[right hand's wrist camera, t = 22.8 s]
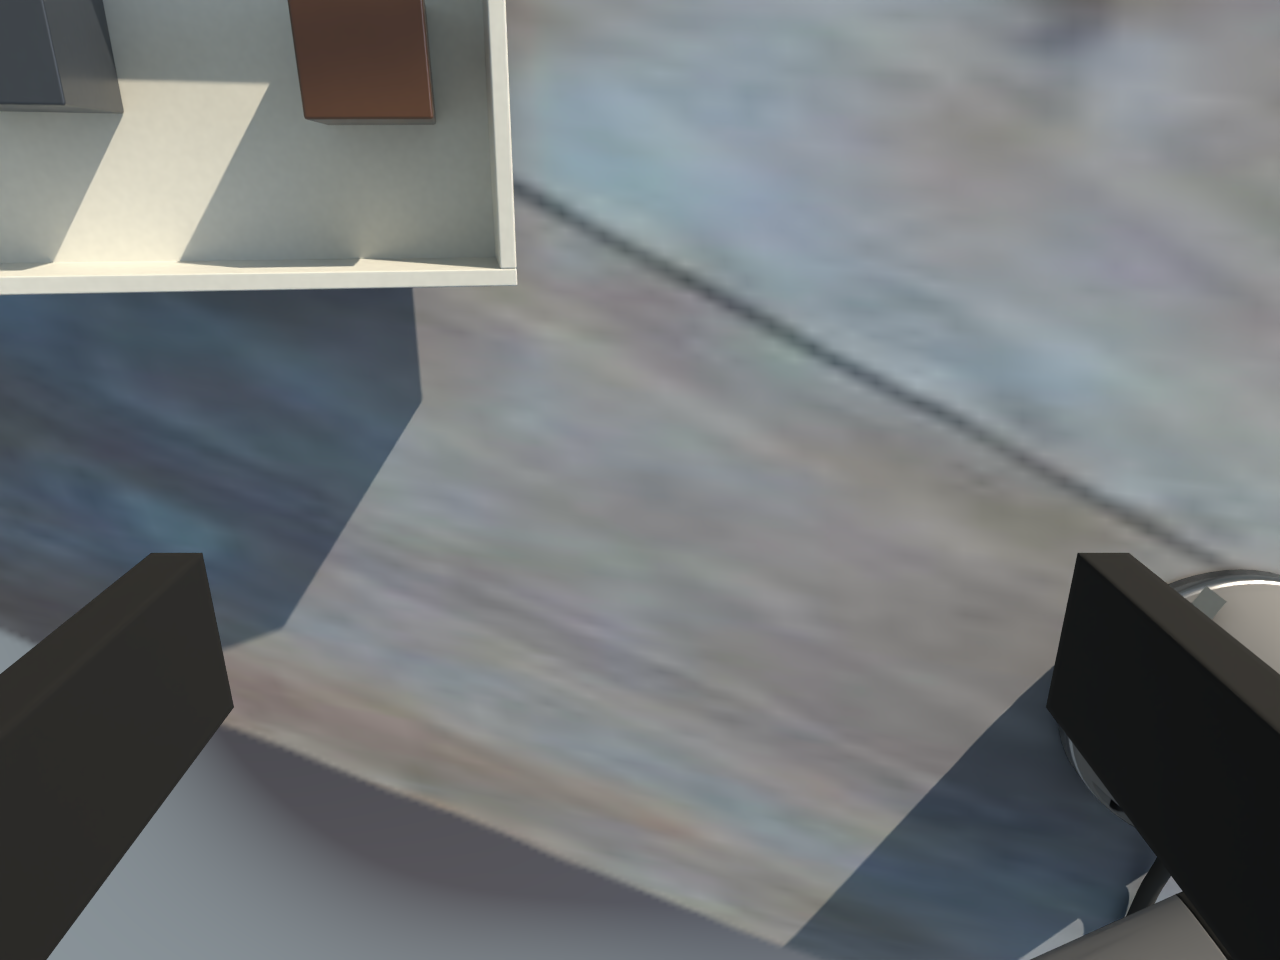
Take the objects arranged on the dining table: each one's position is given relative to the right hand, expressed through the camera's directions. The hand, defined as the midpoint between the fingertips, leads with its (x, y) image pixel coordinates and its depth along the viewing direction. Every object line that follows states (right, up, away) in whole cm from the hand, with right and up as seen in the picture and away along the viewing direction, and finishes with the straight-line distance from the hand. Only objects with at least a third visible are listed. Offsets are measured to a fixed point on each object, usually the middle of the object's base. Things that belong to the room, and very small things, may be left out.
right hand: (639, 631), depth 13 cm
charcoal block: (-20, +17, +16) cm, 31 cm away
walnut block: (-10, +18, +18) cm, 27 cm away
